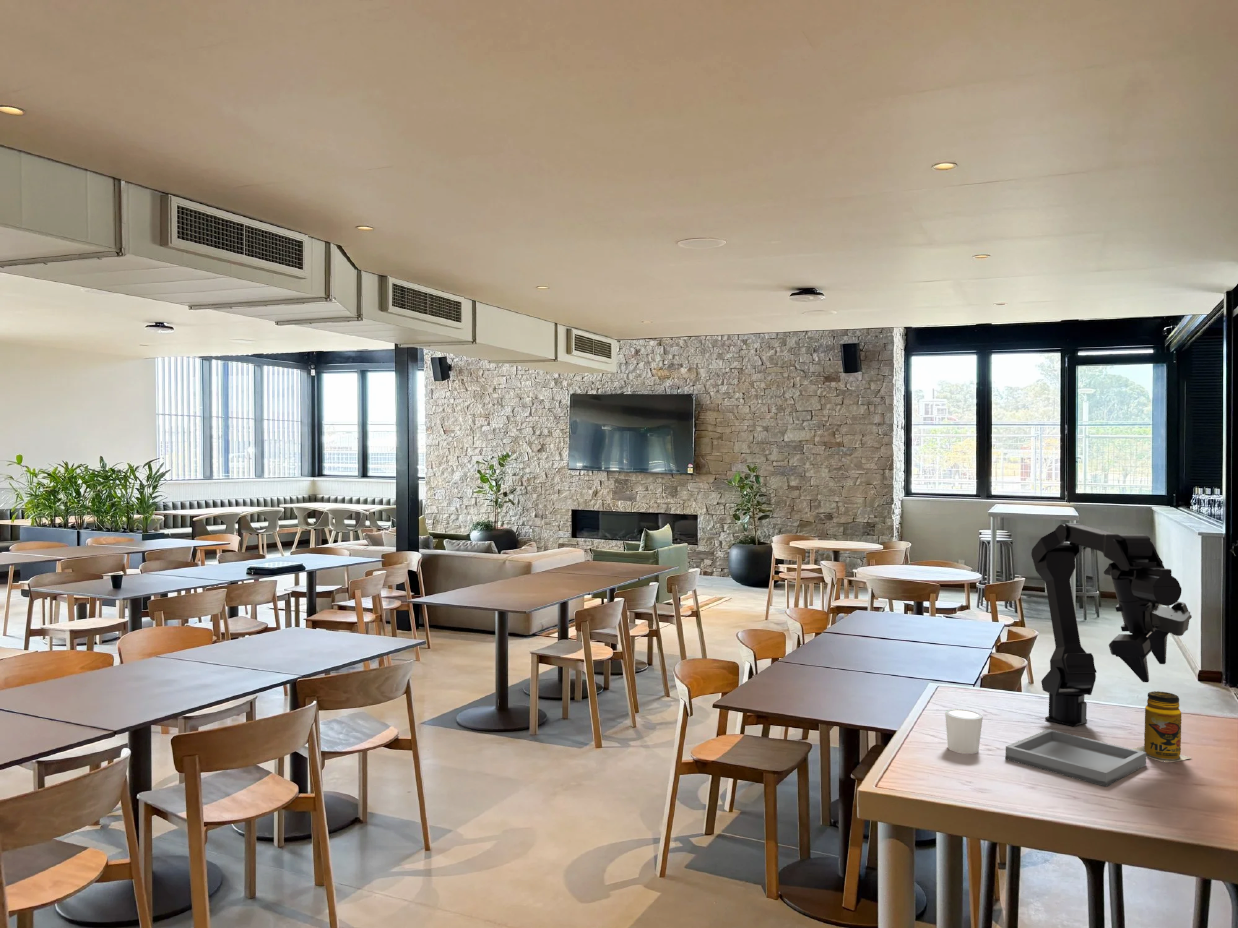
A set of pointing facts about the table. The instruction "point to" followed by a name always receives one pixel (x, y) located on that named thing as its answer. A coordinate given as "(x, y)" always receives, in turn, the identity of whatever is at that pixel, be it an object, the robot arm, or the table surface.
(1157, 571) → the robot arm
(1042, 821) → the table surface
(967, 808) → the table surface
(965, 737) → the shot glass
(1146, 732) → the condiment
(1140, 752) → the tray
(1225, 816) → the table surface
